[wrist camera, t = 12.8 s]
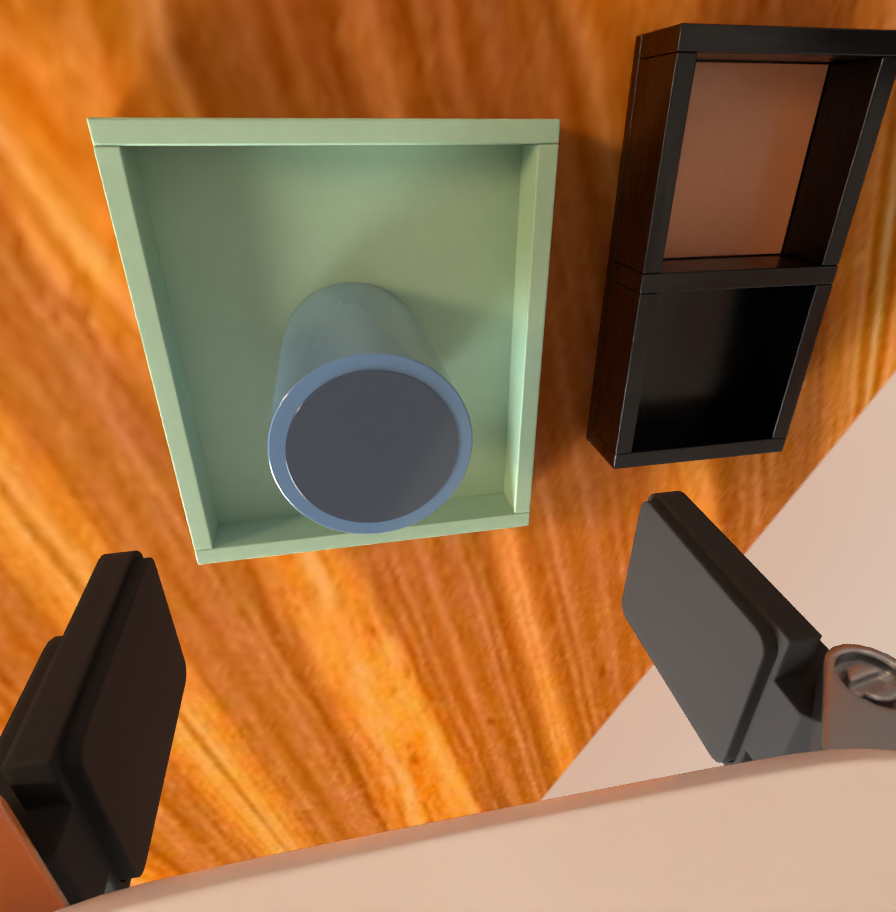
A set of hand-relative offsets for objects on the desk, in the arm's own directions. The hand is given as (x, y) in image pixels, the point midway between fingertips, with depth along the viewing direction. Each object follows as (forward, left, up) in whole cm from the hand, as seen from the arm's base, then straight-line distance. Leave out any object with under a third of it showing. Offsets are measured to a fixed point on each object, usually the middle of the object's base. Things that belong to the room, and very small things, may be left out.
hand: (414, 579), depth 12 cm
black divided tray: (-2, +16, -17) cm, 23 cm away
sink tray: (+1, 0, -17) cm, 17 cm away
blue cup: (+1, 0, -16) cm, 16 cm away
